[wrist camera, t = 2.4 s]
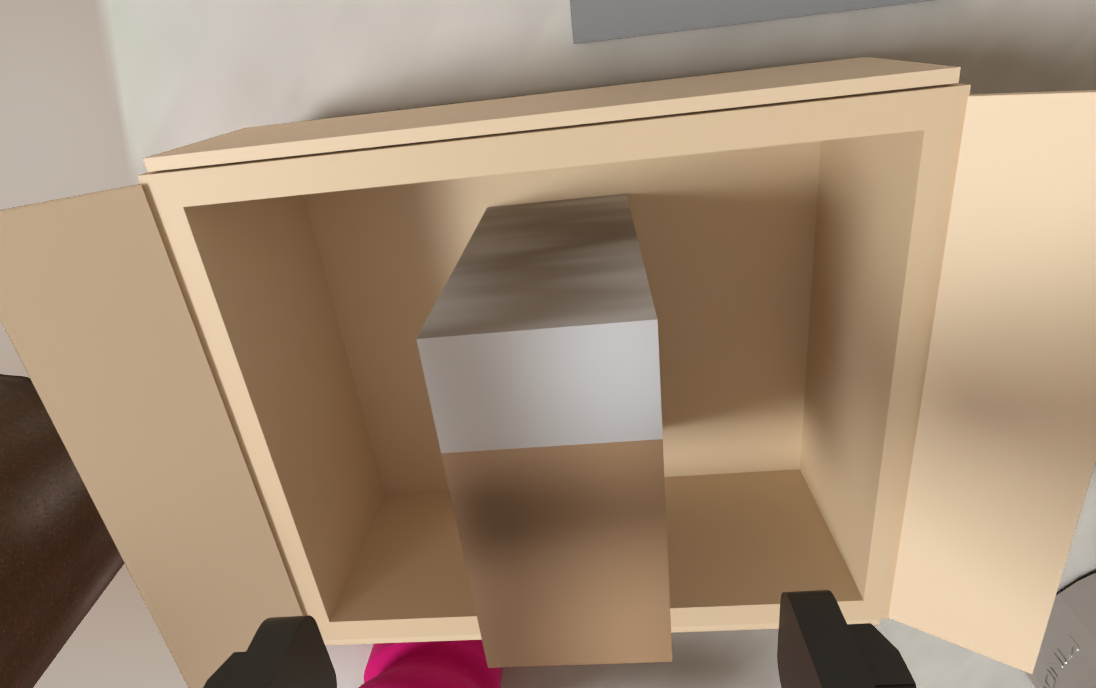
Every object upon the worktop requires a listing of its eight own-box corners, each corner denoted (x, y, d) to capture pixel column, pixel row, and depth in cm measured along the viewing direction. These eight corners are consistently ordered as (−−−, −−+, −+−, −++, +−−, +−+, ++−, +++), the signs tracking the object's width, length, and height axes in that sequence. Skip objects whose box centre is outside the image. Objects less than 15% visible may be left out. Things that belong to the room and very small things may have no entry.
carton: (952, 40, 19) (1229, 52, 11) (891, 478, 26) (1034, 688, 18) (180, 130, 21) (-73, 195, 13) (309, 511, 28) (195, 711, 20)
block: (626, 193, 21) (657, 319, 12) (640, 431, 25) (672, 661, 16) (487, 207, 21) (416, 339, 12) (522, 438, 25) (487, 667, 16)
